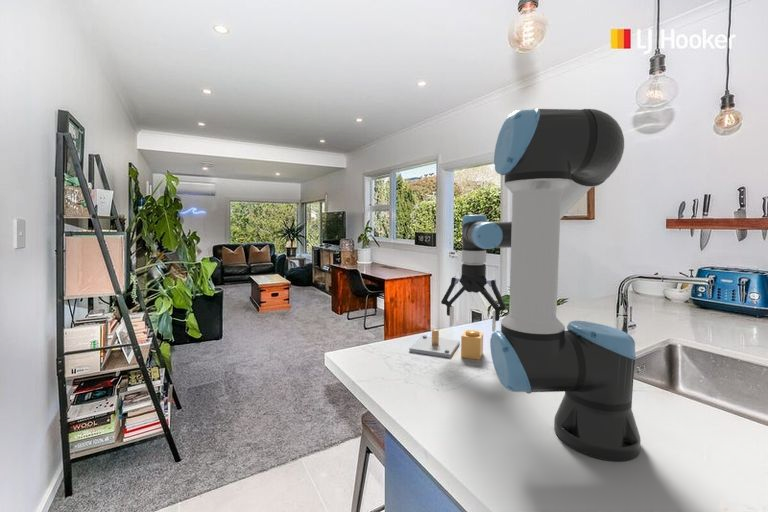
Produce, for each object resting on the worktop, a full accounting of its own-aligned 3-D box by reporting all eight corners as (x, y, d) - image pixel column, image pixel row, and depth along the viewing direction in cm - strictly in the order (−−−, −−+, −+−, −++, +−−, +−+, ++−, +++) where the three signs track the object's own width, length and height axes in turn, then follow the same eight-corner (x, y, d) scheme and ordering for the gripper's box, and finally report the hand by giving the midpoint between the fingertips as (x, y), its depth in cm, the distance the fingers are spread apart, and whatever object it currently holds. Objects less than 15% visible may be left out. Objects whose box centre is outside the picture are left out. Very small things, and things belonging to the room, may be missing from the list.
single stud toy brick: (480, 359, 114) (480, 335, 113) (461, 357, 116) (461, 333, 116) (482, 353, 120) (483, 330, 119) (464, 350, 122) (465, 328, 121)
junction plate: (450, 357, 116) (450, 339, 115) (409, 351, 121) (409, 333, 121) (459, 343, 129) (459, 327, 128) (422, 338, 134) (422, 322, 134)
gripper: (516, 263, 113) (513, 328, 116) (438, 260, 123) (438, 320, 126) (514, 267, 107) (511, 336, 109) (432, 262, 117) (432, 326, 119)
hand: (472, 327), depth 117 cm, fingers open, 13 cm apart
